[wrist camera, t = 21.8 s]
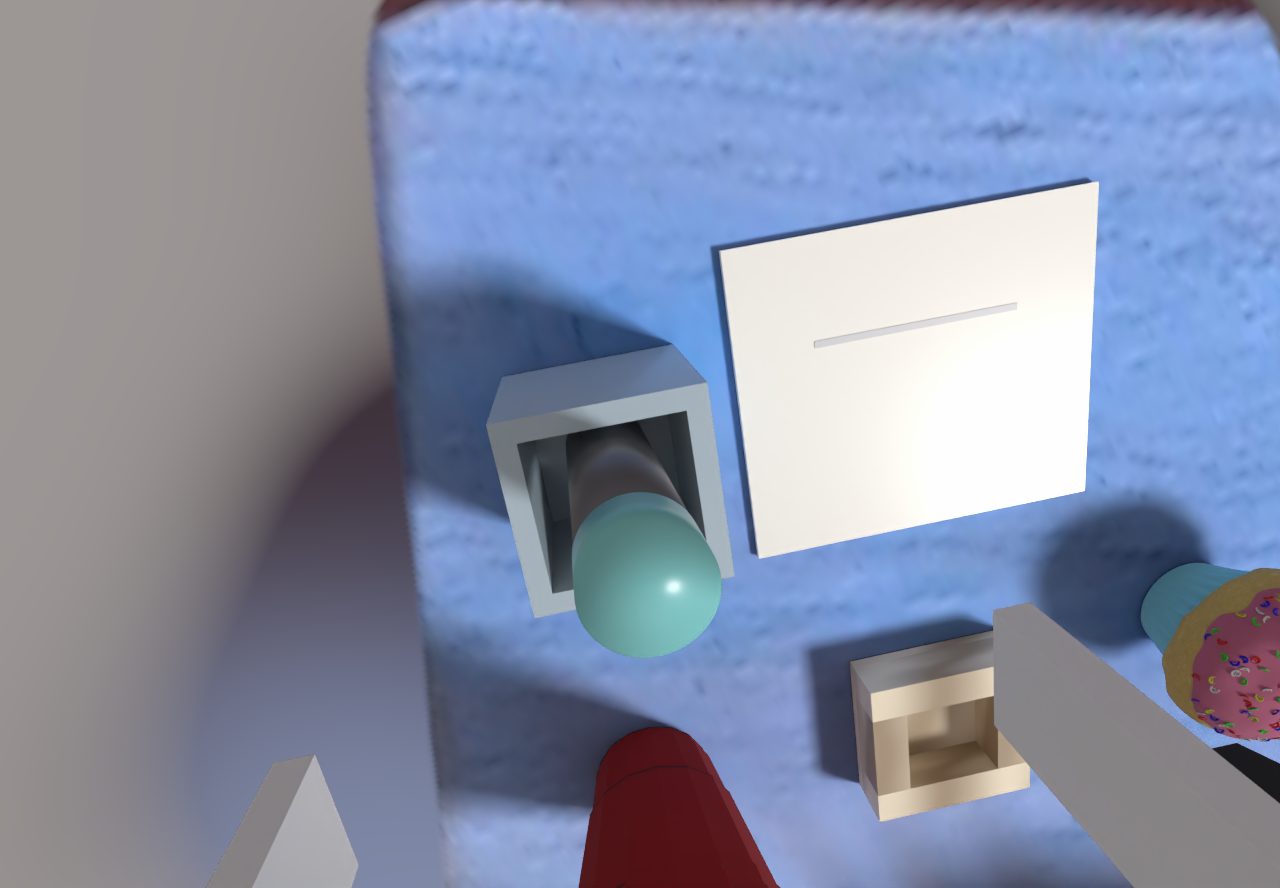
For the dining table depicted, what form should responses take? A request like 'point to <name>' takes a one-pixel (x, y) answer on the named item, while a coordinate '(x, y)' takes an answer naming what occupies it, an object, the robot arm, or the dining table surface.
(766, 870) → the plastic cup
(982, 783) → the marker stand
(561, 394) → the pen pot
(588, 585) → the marker
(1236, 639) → the cupcake
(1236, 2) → the dining table surface
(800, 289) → the paper
